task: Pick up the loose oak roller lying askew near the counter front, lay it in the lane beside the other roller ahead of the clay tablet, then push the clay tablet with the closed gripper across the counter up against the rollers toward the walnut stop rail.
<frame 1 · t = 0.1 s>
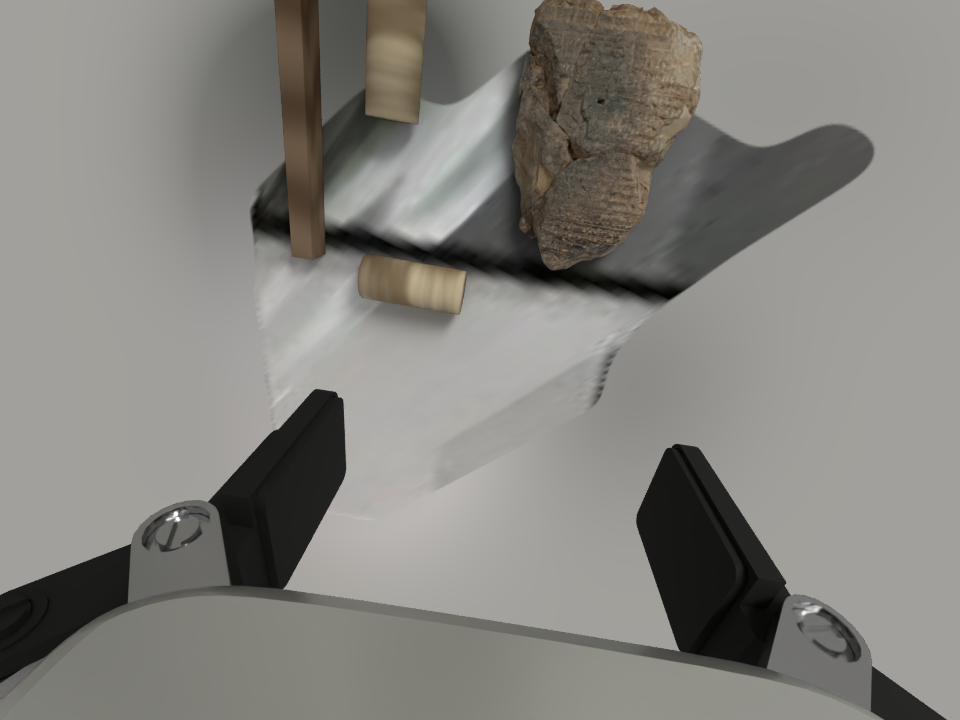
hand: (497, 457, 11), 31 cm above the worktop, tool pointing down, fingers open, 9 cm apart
roller one: (395, 45, 31), point 2 cm above the worktop
roller two: (414, 284, 39), point 2 cm above the worktop
clay tablet: (583, 154, 35), on the worktop
stop rail: (310, 106, 35), on the worktop
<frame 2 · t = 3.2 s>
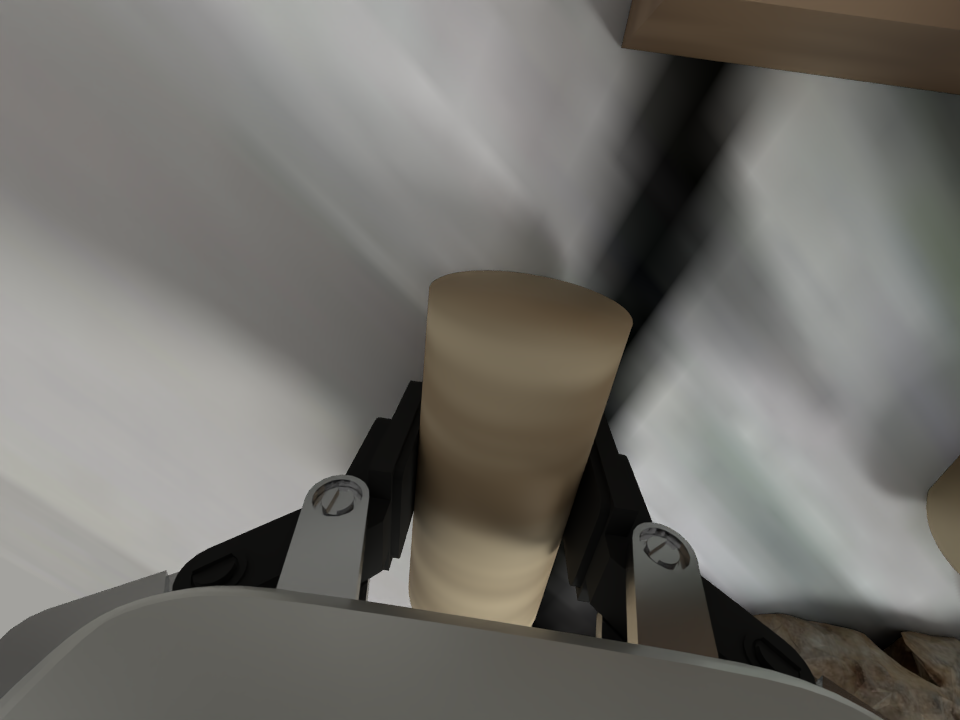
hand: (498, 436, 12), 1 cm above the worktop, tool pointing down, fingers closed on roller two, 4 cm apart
roller two: (496, 469, 11), point 2 cm above the worktop, touching gripper
clay tablet: (736, 680, 19), on the worktop
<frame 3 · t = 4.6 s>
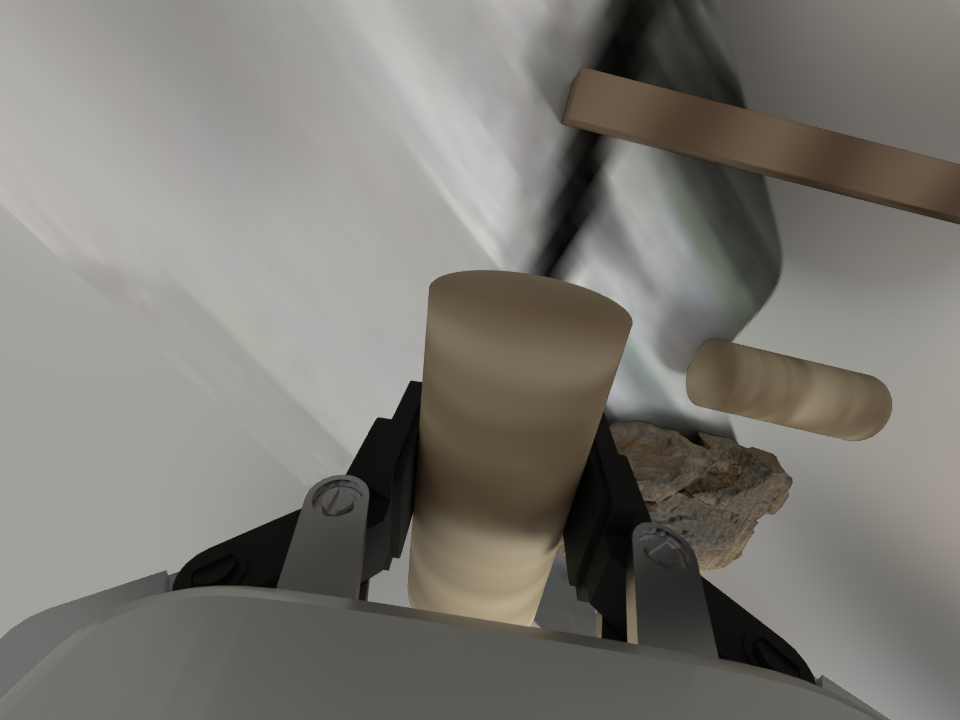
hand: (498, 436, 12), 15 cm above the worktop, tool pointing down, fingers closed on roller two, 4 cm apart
roller one: (780, 390, 25), point 2 cm above the worktop, tilted 117°
roller two: (495, 469, 11), point 17 cm above the worktop, touching gripper
clay tablet: (620, 479, 33), on the worktop
stop rail: (799, 161, 21), on the worktop
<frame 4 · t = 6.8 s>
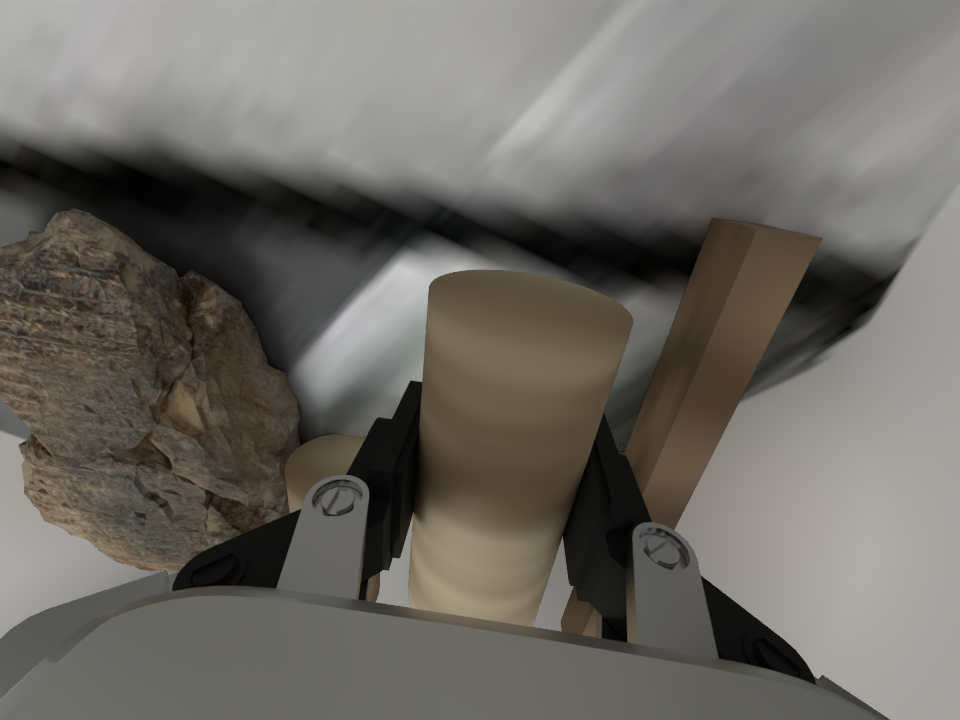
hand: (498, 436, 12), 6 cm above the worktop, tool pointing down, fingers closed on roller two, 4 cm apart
roller one: (338, 532, 21), point 2 cm above the worktop, tilted 166°
roller two: (496, 469, 11), point 8 cm above the worktop, touching gripper
clay tablet: (190, 398, 21), on the worktop
stop rail: (633, 479, 20), on the worktop
when the fingers open (2 cm above the worktop, at t = 8.0 s): roller two drops 1 cm, point 2 cm above the worktop.
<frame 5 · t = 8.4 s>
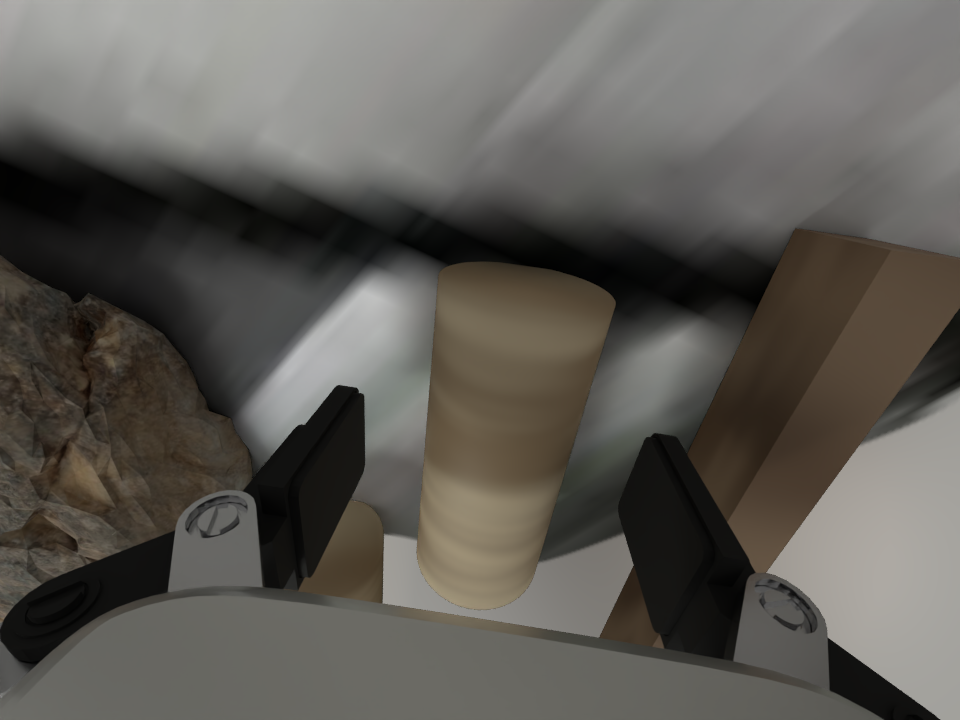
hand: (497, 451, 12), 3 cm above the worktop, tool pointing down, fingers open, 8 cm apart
roller one: (330, 617, 17), point 2 cm above the worktop, tilted 158°
roller two: (497, 441, 12), point 2 cm above the worktop
clay tablet: (119, 445, 17), on the worktop
stop rail: (666, 550, 16), on the worktop
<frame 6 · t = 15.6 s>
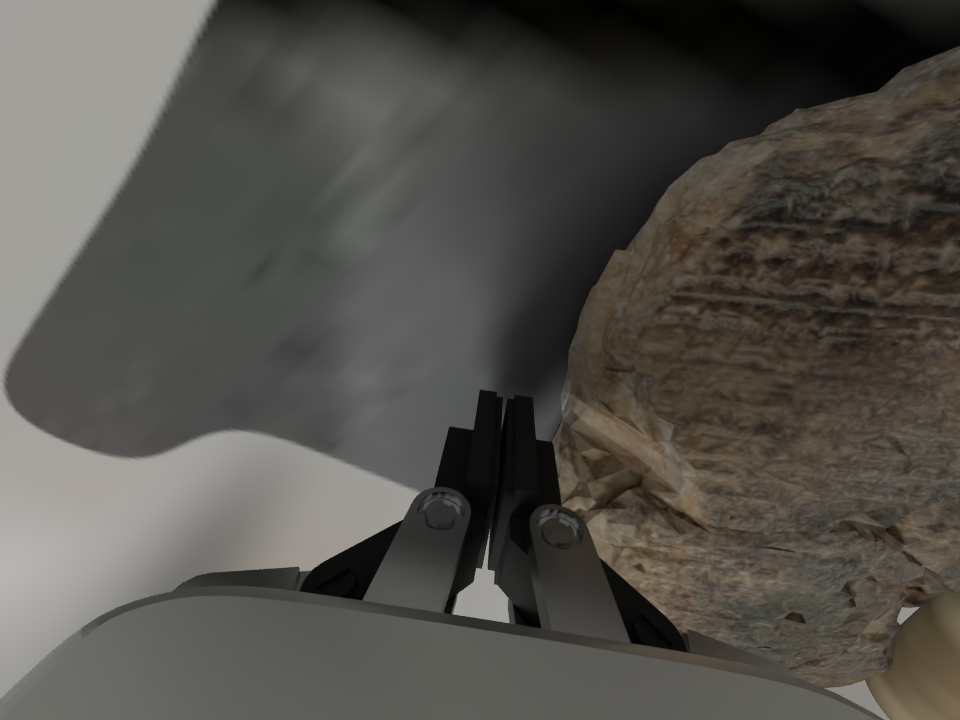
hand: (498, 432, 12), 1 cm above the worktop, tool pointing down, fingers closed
clay tablet: (737, 416, 14), on the worktop
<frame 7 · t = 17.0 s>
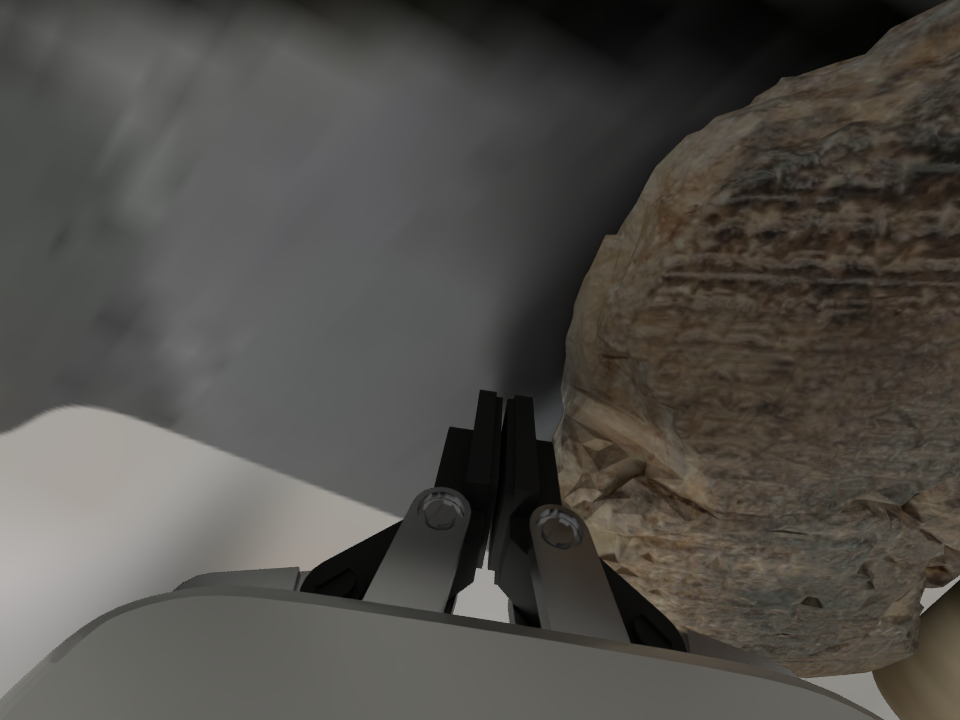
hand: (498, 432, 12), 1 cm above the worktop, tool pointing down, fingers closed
clay tablet: (742, 399, 13), on the worktop, touching gripper
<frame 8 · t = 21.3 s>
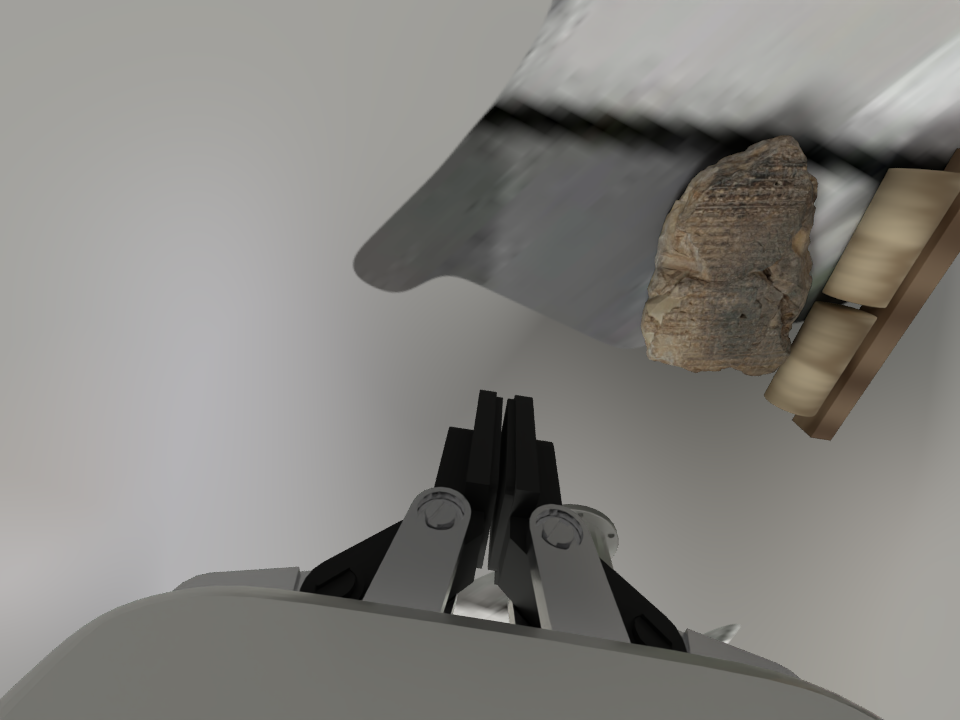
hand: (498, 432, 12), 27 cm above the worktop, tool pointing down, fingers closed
roller one: (815, 359, 37), point 2 cm above the worktop, tilted 109°
roller two: (887, 240, 32), point 2 cm above the worktop, tilted 111°
clay tablet: (722, 262, 36), on the worktop
stop rail: (871, 308, 36), on the worktop
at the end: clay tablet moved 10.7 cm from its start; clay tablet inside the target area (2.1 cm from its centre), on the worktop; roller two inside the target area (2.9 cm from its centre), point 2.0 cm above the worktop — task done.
